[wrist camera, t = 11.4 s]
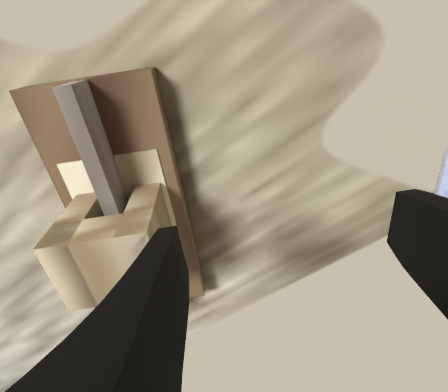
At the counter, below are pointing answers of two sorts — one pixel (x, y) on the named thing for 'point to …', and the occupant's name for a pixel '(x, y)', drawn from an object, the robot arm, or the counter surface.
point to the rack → (109, 145)
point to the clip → (99, 244)
